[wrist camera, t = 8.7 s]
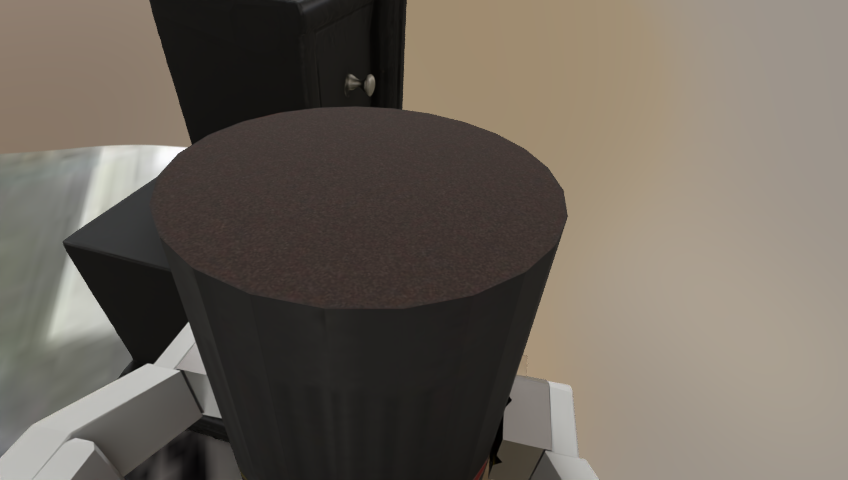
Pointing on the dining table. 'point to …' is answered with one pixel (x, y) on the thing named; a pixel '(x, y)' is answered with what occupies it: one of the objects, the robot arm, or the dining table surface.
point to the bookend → (226, 106)
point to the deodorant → (359, 286)
